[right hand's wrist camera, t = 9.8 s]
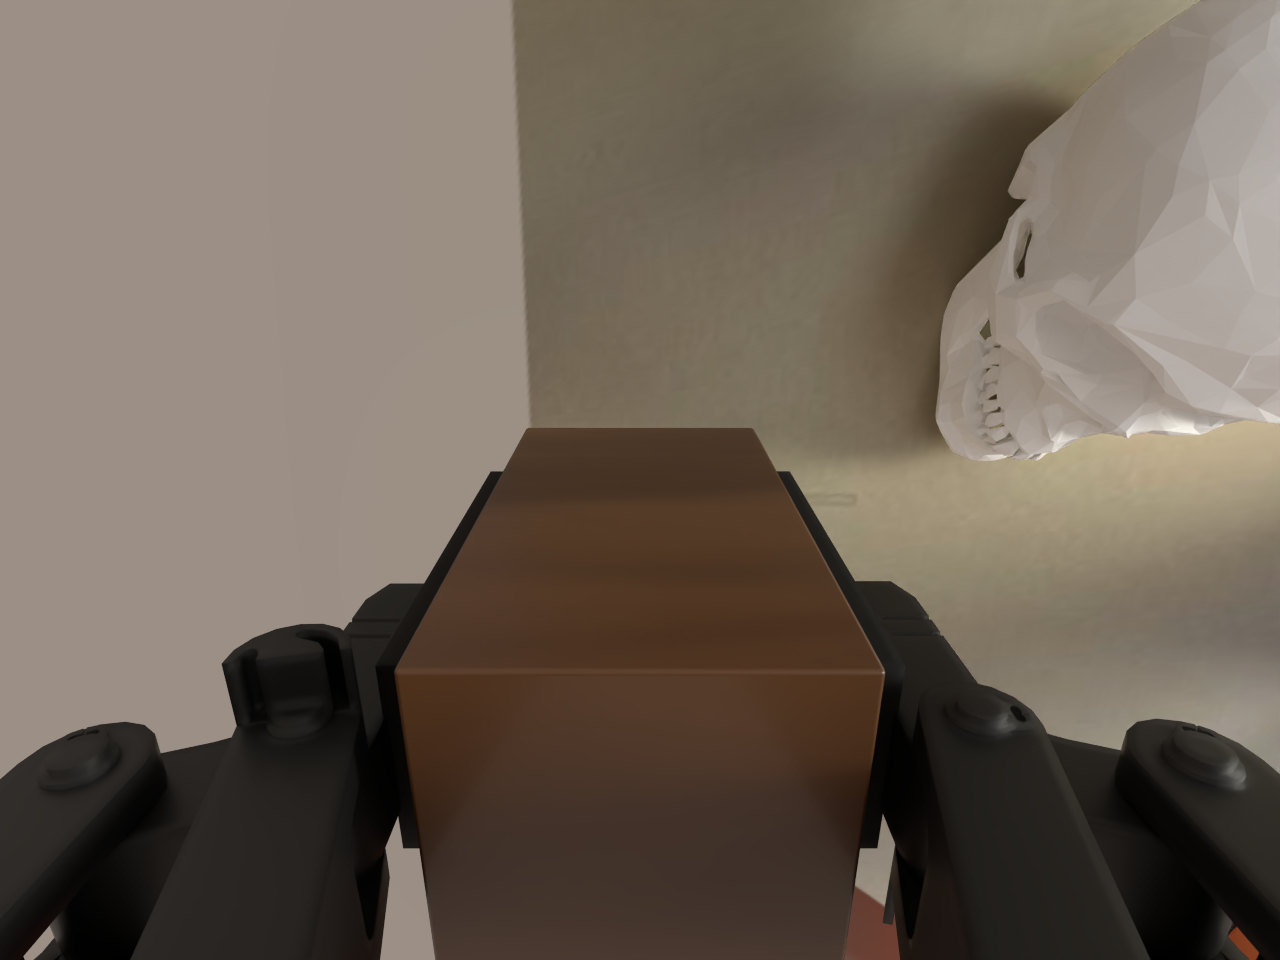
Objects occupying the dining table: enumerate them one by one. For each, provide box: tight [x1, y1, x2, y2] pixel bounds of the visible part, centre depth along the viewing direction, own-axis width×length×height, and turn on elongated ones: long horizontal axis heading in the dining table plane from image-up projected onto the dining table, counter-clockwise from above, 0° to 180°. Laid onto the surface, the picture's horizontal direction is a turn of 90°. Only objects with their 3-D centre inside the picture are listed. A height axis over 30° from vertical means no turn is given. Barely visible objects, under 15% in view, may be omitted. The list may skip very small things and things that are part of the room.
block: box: [394, 428, 885, 960], centre depth 11 cm, size 4×4×8 cm
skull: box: [935, 0, 1280, 461], centre depth 29 cm, size 13×22×16 cm, turn 158°
